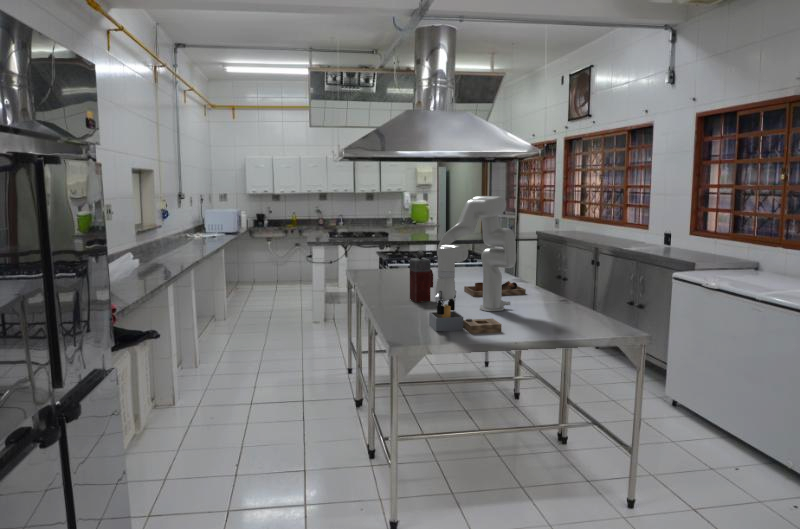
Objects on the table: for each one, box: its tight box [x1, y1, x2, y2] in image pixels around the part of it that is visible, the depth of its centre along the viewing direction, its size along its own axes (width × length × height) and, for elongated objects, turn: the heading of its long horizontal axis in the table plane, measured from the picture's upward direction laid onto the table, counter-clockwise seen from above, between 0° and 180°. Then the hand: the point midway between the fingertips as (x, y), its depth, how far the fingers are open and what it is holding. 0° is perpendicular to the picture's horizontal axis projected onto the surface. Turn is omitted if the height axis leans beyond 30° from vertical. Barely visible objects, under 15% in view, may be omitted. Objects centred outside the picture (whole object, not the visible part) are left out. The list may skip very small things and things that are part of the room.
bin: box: [428, 310, 464, 332], centre depth 254 cm, size 12×12×6 cm
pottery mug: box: [502, 280, 518, 290], centre depth 336 cm, size 12×10×8 cm
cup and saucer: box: [473, 282, 483, 291], centre depth 334 cm, size 12×12×6 cm
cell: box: [442, 303, 452, 318], centre depth 254 cm, size 4×4×10 cm
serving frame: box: [463, 285, 527, 298], centre depth 336 cm, size 32×17×3 cm, turn 101°
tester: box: [463, 318, 502, 335], centre depth 250 cm, size 14×11×4 cm
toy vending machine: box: [409, 250, 434, 303], centre depth 314 cm, size 9×11×28 cm
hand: (446, 312), depth 254 cm, fingers open, 9 cm apart
